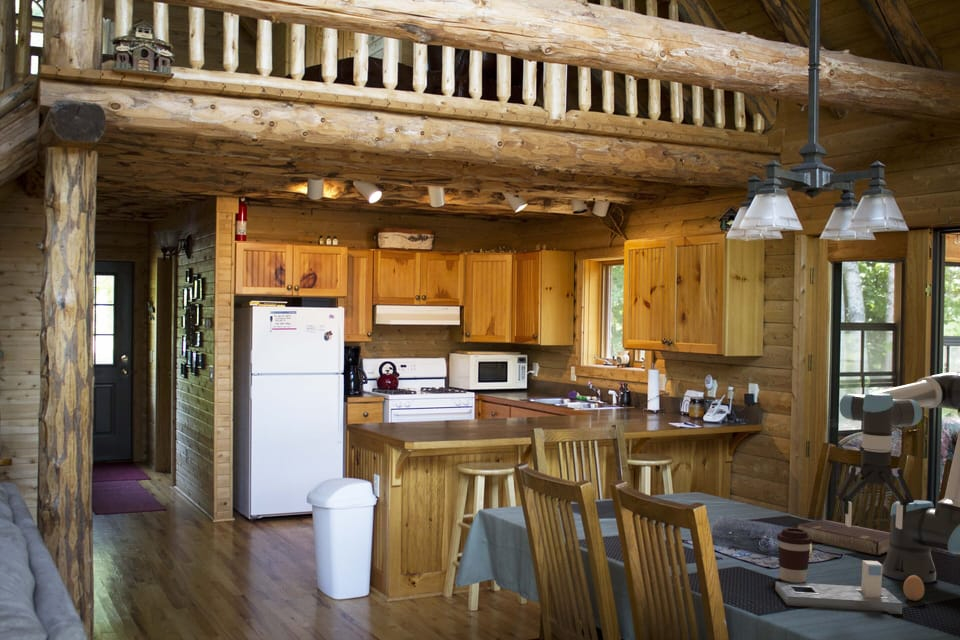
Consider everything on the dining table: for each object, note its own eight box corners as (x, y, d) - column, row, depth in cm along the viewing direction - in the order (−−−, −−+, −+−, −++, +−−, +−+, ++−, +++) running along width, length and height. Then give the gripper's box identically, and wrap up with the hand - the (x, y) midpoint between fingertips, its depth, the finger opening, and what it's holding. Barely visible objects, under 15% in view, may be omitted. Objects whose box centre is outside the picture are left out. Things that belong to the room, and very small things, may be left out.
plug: (875, 600, 269) (877, 561, 269) (881, 605, 265) (883, 565, 265) (860, 599, 270) (862, 560, 269) (866, 605, 265) (867, 564, 265)
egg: (922, 604, 270) (924, 579, 270) (901, 600, 272) (902, 575, 272) (924, 599, 275) (926, 574, 274) (903, 596, 277) (905, 571, 277)
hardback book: (901, 548, 337) (902, 533, 337) (877, 556, 324) (878, 541, 324) (822, 531, 358) (823, 518, 358) (797, 538, 345) (797, 524, 345)
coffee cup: (812, 587, 283) (814, 535, 282) (776, 583, 285) (779, 532, 284) (808, 577, 292) (810, 528, 292) (773, 574, 294) (775, 525, 294)
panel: (884, 598, 274) (884, 587, 274) (901, 614, 260) (902, 602, 260) (775, 591, 276) (775, 581, 276) (787, 607, 262) (787, 595, 262)
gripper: (917, 449, 270) (914, 525, 271) (826, 445, 272) (823, 521, 272) (928, 453, 263) (925, 532, 263) (834, 450, 264) (831, 528, 265)
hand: (873, 527), depth 268 cm, fingers open, 13 cm apart
